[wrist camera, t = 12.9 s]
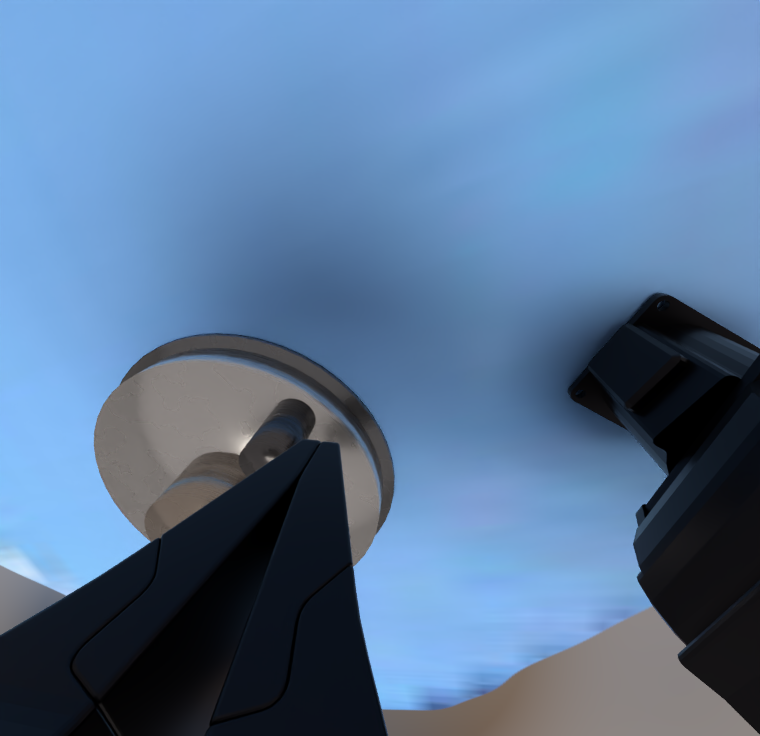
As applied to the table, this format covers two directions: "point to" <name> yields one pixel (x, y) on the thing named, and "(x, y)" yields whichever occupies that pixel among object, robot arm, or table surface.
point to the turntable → (227, 429)
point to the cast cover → (193, 491)
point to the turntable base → (302, 365)
